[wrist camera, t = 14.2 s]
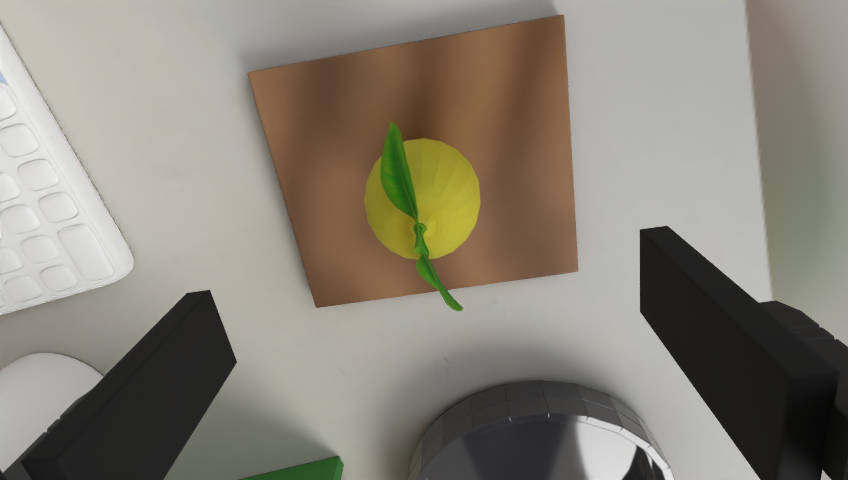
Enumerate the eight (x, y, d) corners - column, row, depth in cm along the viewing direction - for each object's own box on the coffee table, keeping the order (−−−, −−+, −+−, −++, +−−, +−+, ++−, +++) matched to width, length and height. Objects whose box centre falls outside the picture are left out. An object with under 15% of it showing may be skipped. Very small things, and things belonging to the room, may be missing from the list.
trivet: (559, 14, 25) (564, 14, 24) (574, 264, 30) (578, 272, 29) (253, 70, 26) (246, 72, 25) (319, 300, 31) (315, 308, 30)
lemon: (456, 248, 29) (466, 350, 19) (359, 217, 28) (321, 308, 19) (499, 138, 26) (534, 196, 17) (393, 102, 25) (368, 141, 16)
